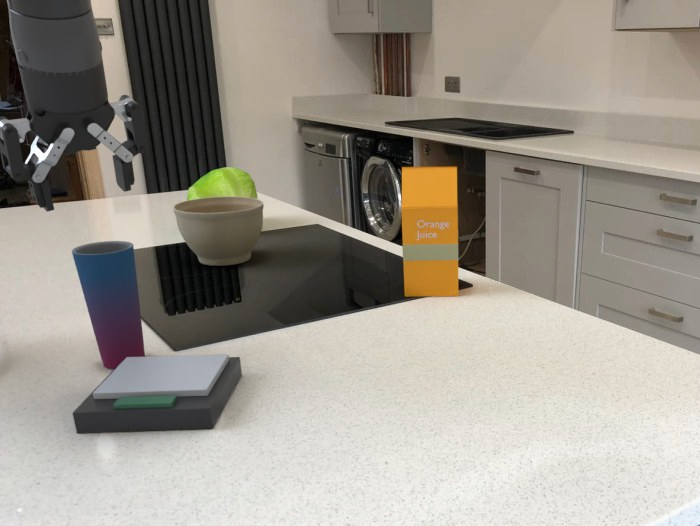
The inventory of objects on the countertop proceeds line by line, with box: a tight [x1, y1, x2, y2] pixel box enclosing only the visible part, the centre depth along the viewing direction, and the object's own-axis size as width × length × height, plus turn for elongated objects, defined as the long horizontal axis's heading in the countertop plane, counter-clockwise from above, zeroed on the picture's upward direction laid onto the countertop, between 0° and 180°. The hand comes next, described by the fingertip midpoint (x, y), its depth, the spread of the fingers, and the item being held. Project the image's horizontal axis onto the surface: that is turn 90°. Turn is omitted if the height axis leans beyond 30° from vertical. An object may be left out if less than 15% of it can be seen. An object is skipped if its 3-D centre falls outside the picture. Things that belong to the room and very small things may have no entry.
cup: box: [71, 240, 146, 370], centre depth 91 cm, size 7×7×15 cm
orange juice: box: [400, 165, 459, 298], centre depth 118 cm, size 8×9×20 cm
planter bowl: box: [172, 196, 265, 267], centre depth 138 cm, size 16×16×11 cm
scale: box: [72, 353, 243, 434], centre depth 82 cm, size 14×14×3 cm
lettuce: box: [186, 166, 258, 201], centre depth 164 cm, size 15×20×14 cm
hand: (86, 197), depth 82 cm, fingers open, 8 cm apart
